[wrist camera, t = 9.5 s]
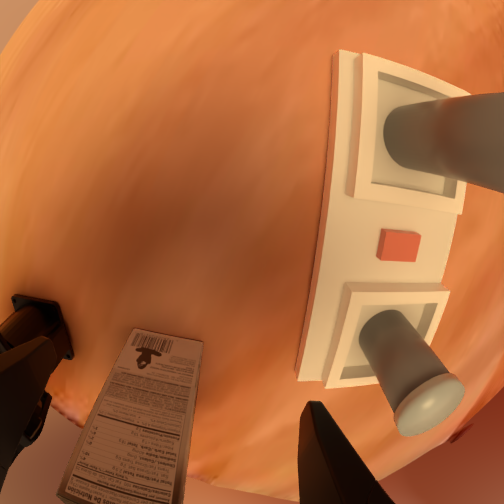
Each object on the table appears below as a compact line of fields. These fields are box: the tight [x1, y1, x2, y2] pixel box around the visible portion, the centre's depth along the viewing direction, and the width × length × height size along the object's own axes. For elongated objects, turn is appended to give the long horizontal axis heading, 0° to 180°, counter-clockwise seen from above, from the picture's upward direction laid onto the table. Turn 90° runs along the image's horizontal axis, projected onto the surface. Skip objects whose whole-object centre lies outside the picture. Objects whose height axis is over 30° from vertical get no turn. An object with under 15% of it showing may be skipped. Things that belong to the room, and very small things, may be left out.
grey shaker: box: [383, 92, 504, 193], centre depth 10 cm, size 5×5×13 cm
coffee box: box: [56, 328, 203, 504], centre depth 16 cm, size 9×6×16 cm
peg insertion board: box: [295, 49, 471, 436], centre depth 15 cm, size 11×25×10 cm, turn 176°
